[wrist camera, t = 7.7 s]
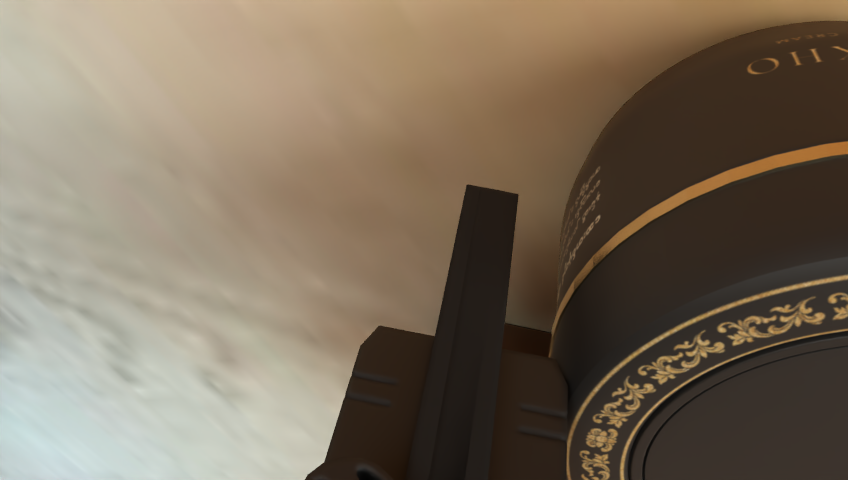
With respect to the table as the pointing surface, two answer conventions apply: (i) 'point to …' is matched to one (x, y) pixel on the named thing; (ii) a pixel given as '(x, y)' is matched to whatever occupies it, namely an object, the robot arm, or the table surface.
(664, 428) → the jar
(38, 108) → the table surface
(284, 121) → the table surface
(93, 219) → the table surface
